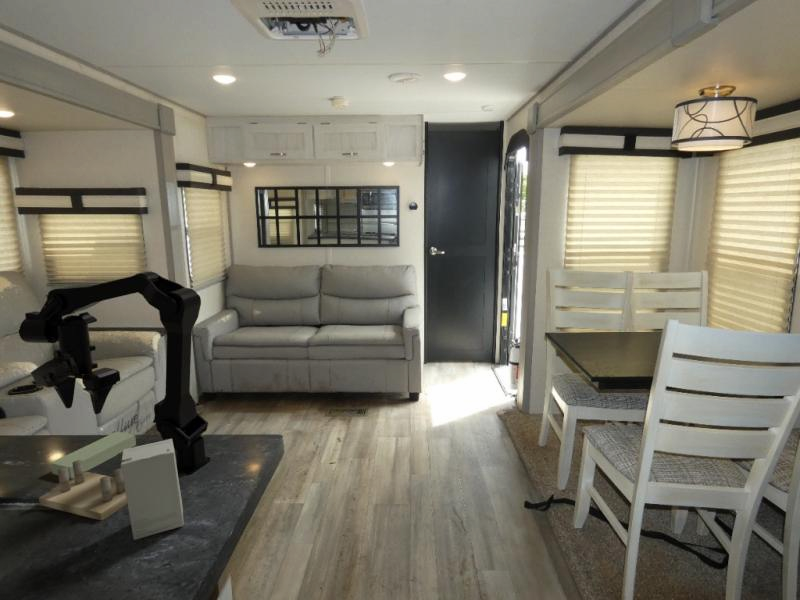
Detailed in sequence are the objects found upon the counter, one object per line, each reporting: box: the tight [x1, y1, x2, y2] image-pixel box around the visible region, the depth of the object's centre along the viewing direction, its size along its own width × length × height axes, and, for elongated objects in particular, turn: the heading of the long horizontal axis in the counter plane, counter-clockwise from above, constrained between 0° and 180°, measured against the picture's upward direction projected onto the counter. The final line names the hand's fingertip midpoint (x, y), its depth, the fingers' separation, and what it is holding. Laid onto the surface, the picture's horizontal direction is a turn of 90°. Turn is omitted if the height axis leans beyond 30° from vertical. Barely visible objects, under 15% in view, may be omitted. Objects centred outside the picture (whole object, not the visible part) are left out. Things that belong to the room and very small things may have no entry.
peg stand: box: [38, 460, 128, 521], centre depth 94 cm, size 16×10×6 cm, turn 71°
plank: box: [50, 431, 137, 480], centre depth 110 cm, size 16×6×3 cm, turn 159°
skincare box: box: [120, 439, 185, 541], centre depth 85 cm, size 8×6×15 cm
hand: (83, 410), depth 107 cm, fingers open, 9 cm apart
